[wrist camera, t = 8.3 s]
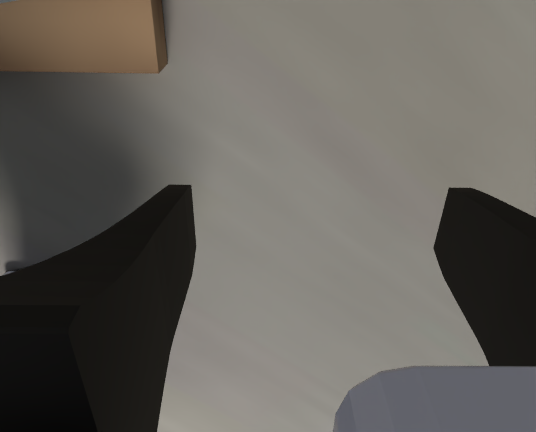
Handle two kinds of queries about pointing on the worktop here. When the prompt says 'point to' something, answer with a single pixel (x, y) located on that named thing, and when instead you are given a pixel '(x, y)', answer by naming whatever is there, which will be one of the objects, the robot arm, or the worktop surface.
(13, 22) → the base
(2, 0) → the block
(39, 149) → the worktop surface
